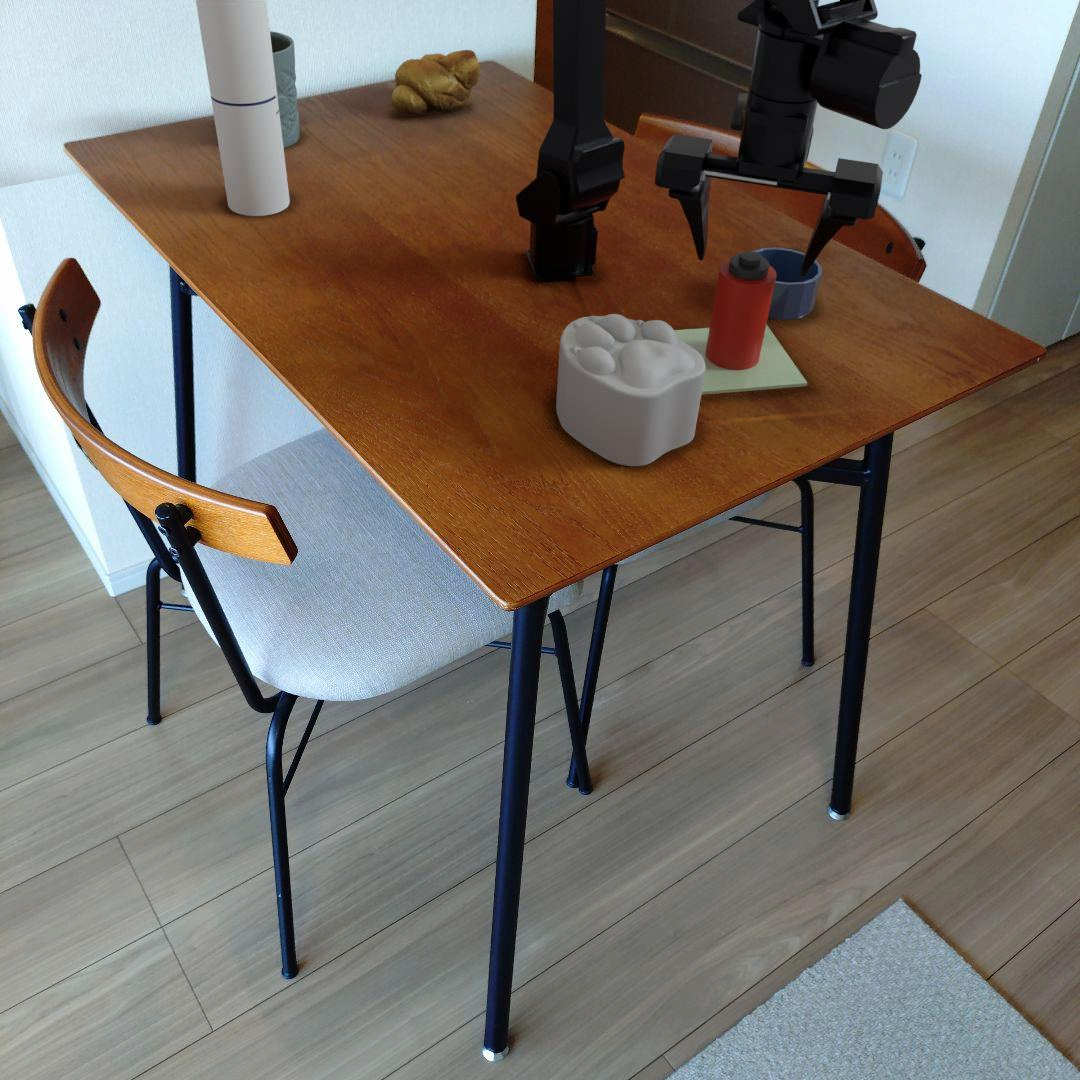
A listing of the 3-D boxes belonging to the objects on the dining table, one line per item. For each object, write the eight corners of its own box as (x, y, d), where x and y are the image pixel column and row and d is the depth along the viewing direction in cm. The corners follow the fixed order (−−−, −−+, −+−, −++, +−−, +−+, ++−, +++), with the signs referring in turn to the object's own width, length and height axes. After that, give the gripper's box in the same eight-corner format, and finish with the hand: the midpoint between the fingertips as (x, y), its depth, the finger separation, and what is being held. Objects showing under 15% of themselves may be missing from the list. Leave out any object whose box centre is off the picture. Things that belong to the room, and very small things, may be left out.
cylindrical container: (215, 208, 125) (176, -27, 109) (250, 185, 130) (218, -43, 114) (268, 220, 123) (236, -17, 107) (301, 197, 128) (276, -33, 112)
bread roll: (407, 127, 146) (405, 66, 141) (373, 104, 152) (369, 45, 147) (486, 110, 152) (487, 51, 147) (450, 89, 158) (449, 31, 153)
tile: (695, 399, 100) (696, 392, 99) (661, 337, 108) (662, 330, 107) (806, 389, 102) (807, 382, 101) (764, 330, 110) (766, 323, 109)
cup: (752, 326, 110) (760, 286, 107) (726, 288, 116) (733, 249, 113) (824, 320, 112) (834, 281, 109) (795, 283, 117) (804, 245, 115)
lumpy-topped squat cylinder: (625, 475, 91) (636, 389, 85) (527, 405, 98) (531, 321, 92) (710, 432, 96) (725, 348, 90) (611, 368, 103) (619, 286, 97)
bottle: (715, 372, 102) (733, 271, 95) (698, 343, 106) (714, 244, 99) (766, 368, 103) (788, 267, 96) (748, 339, 107) (767, 241, 100)
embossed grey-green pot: (296, 154, 138) (285, 57, 130) (217, 150, 138) (201, 52, 130) (310, 125, 145) (300, 31, 138) (235, 121, 145) (221, 27, 137)
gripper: (904, 75, 92) (860, 246, 102) (689, 47, 95) (668, 214, 105) (899, 120, 84) (852, 300, 94) (664, 87, 87) (644, 264, 97)
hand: (751, 266), depth 98 cm, fingers open, 9 cm apart
